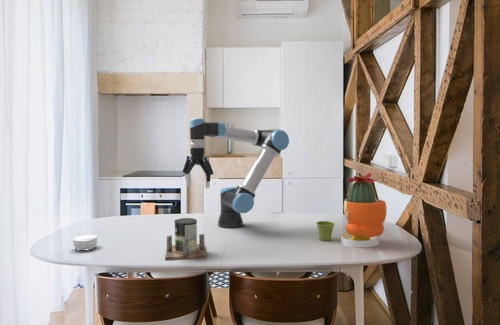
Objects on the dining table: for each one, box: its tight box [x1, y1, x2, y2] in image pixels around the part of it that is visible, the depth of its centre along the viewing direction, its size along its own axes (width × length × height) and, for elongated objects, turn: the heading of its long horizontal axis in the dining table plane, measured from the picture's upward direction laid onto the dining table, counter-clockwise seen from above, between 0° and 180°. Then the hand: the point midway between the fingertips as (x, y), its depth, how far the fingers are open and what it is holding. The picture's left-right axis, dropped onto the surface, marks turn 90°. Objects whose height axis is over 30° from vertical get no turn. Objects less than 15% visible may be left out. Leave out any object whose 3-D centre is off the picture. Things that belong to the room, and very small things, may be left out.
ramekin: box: [72, 234, 99, 250], centre depth 190 cm, size 11×11×5 cm
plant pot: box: [315, 220, 335, 242], centre depth 204 cm, size 9×9×9 cm
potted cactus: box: [340, 172, 387, 248], centre depth 196 cm, size 22×22×35 cm
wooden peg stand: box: [164, 233, 207, 261], centre depth 182 cm, size 18×18×8 cm
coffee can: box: [173, 217, 198, 253], centre depth 181 cm, size 10×10×14 cm
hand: (197, 186), depth 211 cm, fingers open, 13 cm apart
